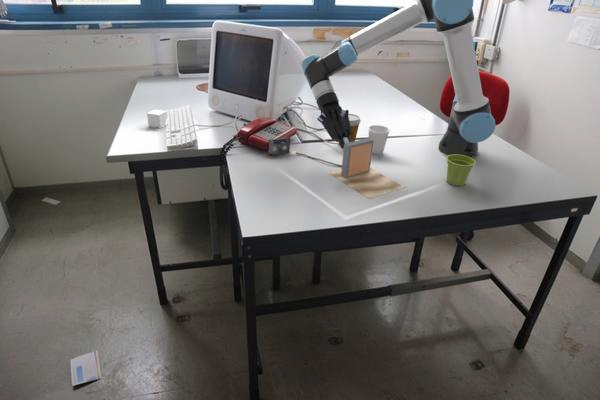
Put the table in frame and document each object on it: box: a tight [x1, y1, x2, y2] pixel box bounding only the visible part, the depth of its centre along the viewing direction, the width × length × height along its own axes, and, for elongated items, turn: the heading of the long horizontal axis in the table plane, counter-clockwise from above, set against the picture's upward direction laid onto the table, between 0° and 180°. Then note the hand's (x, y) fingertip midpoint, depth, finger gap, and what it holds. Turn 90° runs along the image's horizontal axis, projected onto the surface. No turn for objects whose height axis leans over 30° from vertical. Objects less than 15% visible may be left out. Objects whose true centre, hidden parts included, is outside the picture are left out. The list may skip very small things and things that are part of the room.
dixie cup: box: [367, 124, 391, 155], centre depth 160 cm, size 8×8×10 cm
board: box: [326, 167, 405, 200], centre depth 140 cm, size 22×16×1 cm
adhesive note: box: [146, 109, 169, 129], centre depth 179 cm, size 6×6×6 cm
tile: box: [341, 137, 374, 179], centre depth 141 cm, size 3×11×12 cm, turn 124°
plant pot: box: [446, 154, 477, 187], centre depth 141 cm, size 9×9×9 cm
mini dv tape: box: [267, 136, 291, 156], centre depth 158 cm, size 8×2×6 cm, turn 111°
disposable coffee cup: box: [338, 113, 362, 147], centre depth 166 cm, size 10×10×12 cm
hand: (350, 155), depth 143 cm, fingers closed
